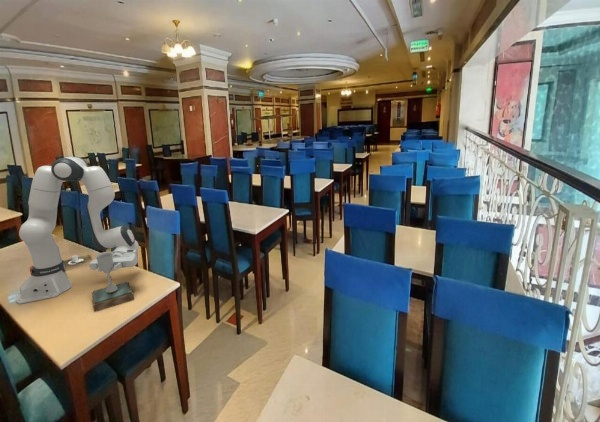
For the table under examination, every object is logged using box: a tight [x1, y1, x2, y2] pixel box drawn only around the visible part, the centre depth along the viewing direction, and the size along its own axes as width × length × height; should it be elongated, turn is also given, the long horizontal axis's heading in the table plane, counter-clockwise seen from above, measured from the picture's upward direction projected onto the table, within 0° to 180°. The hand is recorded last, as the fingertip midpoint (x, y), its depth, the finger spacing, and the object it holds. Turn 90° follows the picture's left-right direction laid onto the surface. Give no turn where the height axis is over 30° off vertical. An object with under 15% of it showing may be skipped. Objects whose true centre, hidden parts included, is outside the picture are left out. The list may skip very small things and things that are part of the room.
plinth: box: [91, 281, 135, 312], centre depth 151 cm, size 16×14×4 cm
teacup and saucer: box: [67, 254, 84, 265], centre depth 196 cm, size 9×8×4 cm
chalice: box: [94, 250, 118, 292], centre depth 148 cm, size 7×7×18 cm
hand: (106, 269), depth 147 cm, fingers closed on chalice, 5 cm apart
